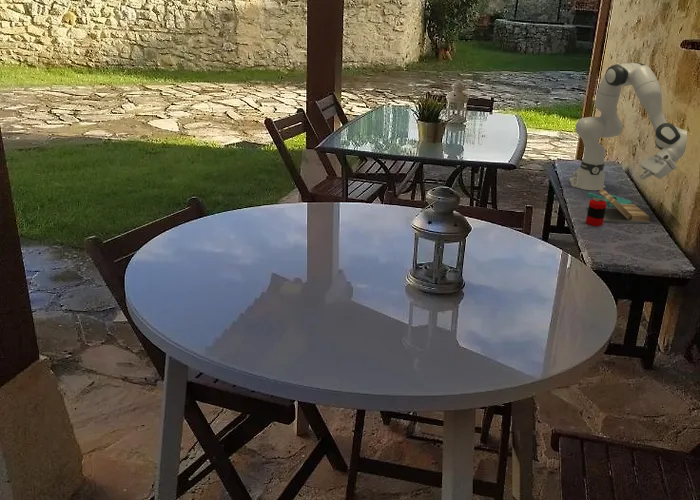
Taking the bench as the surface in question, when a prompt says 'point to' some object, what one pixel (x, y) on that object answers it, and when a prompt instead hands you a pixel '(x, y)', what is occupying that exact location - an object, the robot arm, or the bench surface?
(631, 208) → the laid plank
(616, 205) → the board
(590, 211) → the soda can
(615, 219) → the underlay mat
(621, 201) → the alien figure
